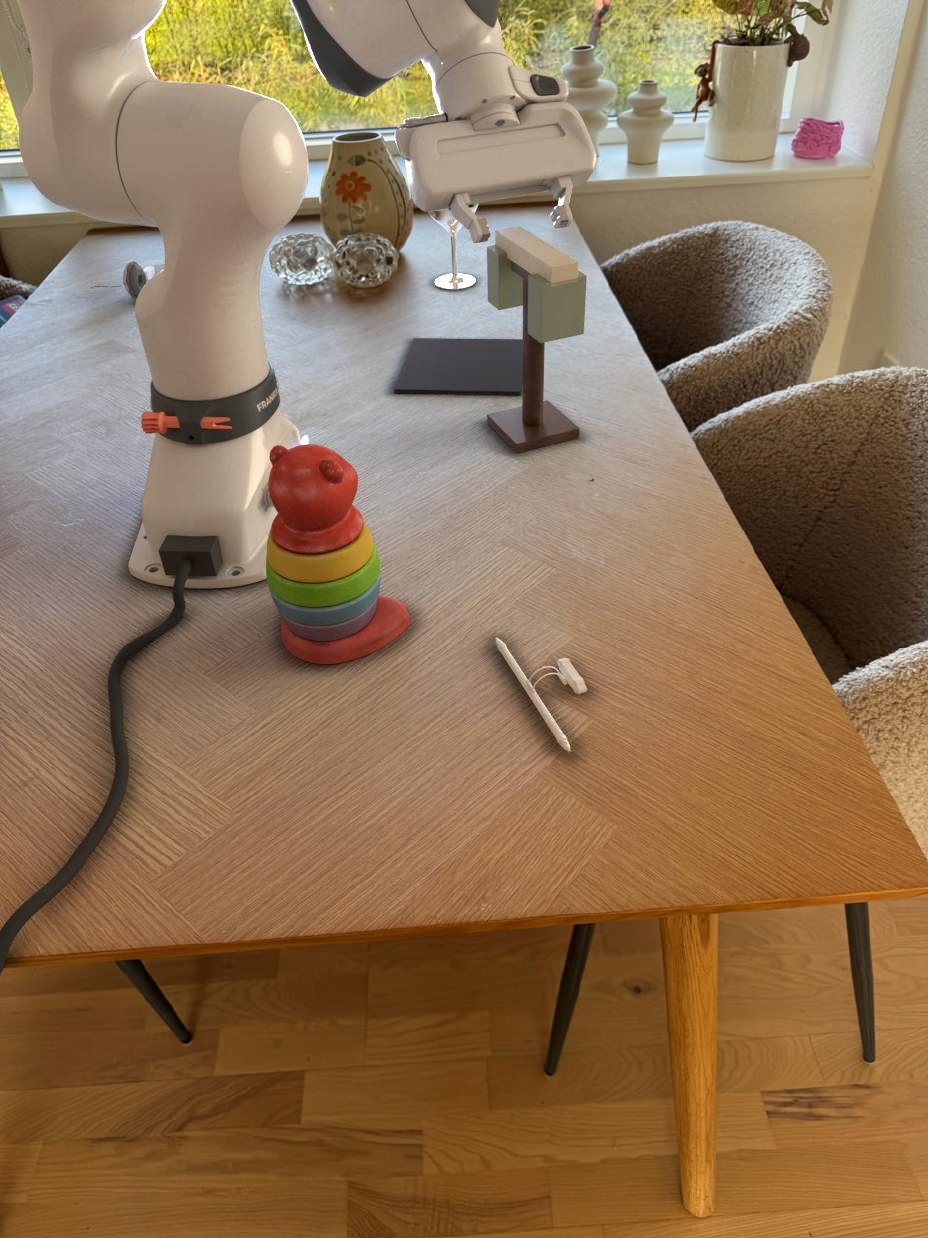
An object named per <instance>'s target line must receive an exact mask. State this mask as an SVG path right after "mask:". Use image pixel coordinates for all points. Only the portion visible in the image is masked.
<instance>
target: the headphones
mask: <svg viewBox="0 0 928 1238" xmlns="http://www.w3.org/2000/svg"><path fill="white" fill-rule="evenodd" d="M164 265H165V263H159V264H154V265H148V266H146V267H144V268H143V267H142V266H141V265H140V264H138V263H137V262H136V261H133V260H132V261H129V262H128V263H126V266H125V268H124V270H123V273H122V284H121V285H120V287H122V286H124V289H125V291H126V292H127V293H128V295H129V297H130V298H131V299H132V300H134V301H136V300H137V297H138V295H139V293H140V291H141V290H142V288H143V287H144V285H145V284H146V283H147V282H148V281H149V280H150V279H151V278H152V277H153V276H154V275H156V274H157V273H159V272H160V271H162V270H163V269H164ZM99 287H100V288H101V287H102V288H108V286H106V285H105V286H104V285H96V286H91V287H90V288H89V290H90V291H91V290H92V289H93V288H99ZM117 287H119V285H115V286H111V288H117Z"/></svg>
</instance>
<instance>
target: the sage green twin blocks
mask: <svg viewBox="0 0 928 1238" xmlns="http://www.w3.org/2000/svg"><path fill="white" fill-rule="evenodd" d="M511 261H513V262H514V263H516V264H517V265H519V266H520V267H522V268H523V269H525V270H526V271H528V272H529V273H530V274H531V275H528V334H530V335H531V336H532V337H533V338H535V339H536V340H537V341H538V342H540V343H549V342H553V341H557V340H558V341H559V340H563V339H567V338H571V337H577V336H581V335H584V334H585V320H586V319H585V318H586V298H587V297H586V296H587V279H588V278H587V277H588V276H587V275H586V274H585V273H583V272H582V271H580V270H579V261H578V260H576V259H575V258H573V257H571V256H570V255H568V254H566V253H565V252H563V251H561V250H560V249H558V248H556V247H555V246H553V245H551V244H550V243H548V241H545V240H543V239H542V238H540V237H539V236H537V235H535V234H533V233H532V232H530V231H528V230H527V229H525V228H524V227H522V226H520V225H517V226H511V227H508V228H507V227H506V228H502V229H496V230H494V244H492V245H488V246H486V272H487V273H486V274H487V275H486V276H487V277H486V279H487V302H488V303H489V304H491V306H493V307H494V308H496V309H497V310H498V311H501V310H507V309H513V308H517V307H523V278H522V277H520V276H519V275H518V274H516V273H515V272H513V271H512V270H511Z"/></svg>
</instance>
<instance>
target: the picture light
mask: <svg viewBox="0 0 928 1238" xmlns="http://www.w3.org/2000/svg"><path fill="white" fill-rule="evenodd" d="M494 639H495V646H496V647H497V650H498V651H499V652H500V654H501V655H502V656H503V658H504V660H505V661H506V663H507V664H508V666H509V667H510V669H511V671H512V672H513V674H514V675H515V677H516V678H517V680H518V682H519V683H520V684H521V686H522V687H523V689H524V691H525V692H526V694H527V695H528V697H529V698H530V700H531V702H532V703H533V705H534V706H535V708H536V709H537V711H538V713H539V714H540V716H541V717H542V719H543V720H544V722H545V724H546V725H547V726H548V728H549V729H550V732H551V733H552V734H553V736H554V737H555V739H556V741H557V743H558V744H559V746H561V748H562V749H564V750H565V751H567V752H568V753H570V752H571V751H572V750H571V745H570V742H569V741H568V740H569V739H568V738H567V736H566V735H565V734H564V732H563V731H562V729H561V728H560V726H559V725H558V723H557V722H556V720H555V719H554V717H553V716H552V714H551V712H550V711H549V710H548V708H547V706H546V705H545V704H544V702H543V701H542V699H541V697H540V696H539V694H538V693H537V691H536V689H535V687H536V685H537V684H538V683H539V682H540V681H541V680H542V679H543V678H545V677H548V676H551V675H557V677H558V678H559V680H560V682H561V683H562V685H563V686H567V685H568V686H569V687H571V689H572V691H573V692H574V693H575V694H577V695H581V694H584V693H588V688H587V685H586V682H585V680H584V678H583V677H582V676H581V675H580V674H579V672H578V671H577V669H576V668H575V667H574V665H573V664H572V662H571V661H570V659H569V658H568V657H567V658H566V657H562V658H559V659H556V665H557V667H558V668H557V667H555V666H552V665H545V666H542V667H540V668H538V669H537V670H535V671H534V672H533V673H531V675H530V676H529V678H527V676H526V674H525V673H524V672H523V670H522V669H521V667H520V665H519V664H518V663H517V661H516V659H515V657H514V656H513V655H512V653H511V652H510V650H509V649H508V647H507V645H506V643H505V642H503V640H501V639H500V638H498V637H495V638H494ZM548 668H549V669H554V670H555V671H556V672H549V673H546V674H544V675H542V676H540V677H539V678H538V679H537V680H536V681H535V683H534V684H532V683H531V680H532V678H533V677H534V676H535V675H536V674H537V673H538V672H539V671H542V670H544V669H548Z"/></svg>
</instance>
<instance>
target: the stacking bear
mask: <svg viewBox="0 0 928 1238" xmlns="http://www.w3.org/2000/svg"><path fill="white" fill-rule="evenodd" d="M269 458H270V462H271V463H272V469H271V471H270V474H269V480H268V489H269V494H270V498H271V500H272V503H273V505H274V507H275V509H276V511H277V512H278V514H277V515H276V517H275V518H274V520H273V522H272V525H271V530H270V532H269V535H268V541H267V557H266V577H267V578H266V582H267V586H268V591H269V593H270V597H271V599H272V601H273V604H274V605H275V607H276V609H277V612H278V614H279V615H280V616H279V617H281V619H282V621H281V629H280V630H281V631H280V634H281V640H282V643H283V645H284V647H285V649H287V651H288V652H289V653H290V654H291V655H293V656H294V657H296V658H298V659H300V660H301V661H305V662H308V663H312V664H319V665H334V664H340V663H345V662H349V661H353V660H357V659H359V658H362V657H365V656H367V655H369V654H372V653H374V652H376V651H378V650H380V649H382V648H384V647H385V646H387V645H389V644H390V643H392V642H393V641H394V640H396V639H397V638H398V637H399V636H400V635H401V634H402V633H404V631H406V630H407V628H408V627H409V625H410V624H411V617H410V612H409V609H408V606H407V605H406V604H405V603H404V602H401V601H399V600H397V599H396V598H393V597H388V596H382V595H379V594H380V591H381V590H380V589H381V578H382V577H381V574H382V572H381V571H382V570H381V562H380V556H379V552H378V549H377V547H376V546H377V545H376V544H375V542H374V539H373V536H372V533H371V531H370V529H369V527H368V523H367V522H366V520H365V519H364V516H363V514H362V513H361V511H360V510H359V509H358V508H357V507H356V506H355V505H354V504H353V503H354V501H355V498H356V495H357V491H358V487H359V486H358V485H359V476H358V471H357V470H356V468H355V467H354V465H353V464H352V463H351V462H348V460H346V459H345V458H344V457H343V456H342V455H340V454H339V453H338V452H336V451H335V450H333V449H331V448H329V447H327V446H324V445H321V444H314V443H308V444H304V445H299V446H295V447H293V448H291V449H289V450H288V449H286V448H285V447H284V446H281V445H277V446H274V447H273V448H272V450H271V451H270V455H269Z"/></svg>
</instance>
